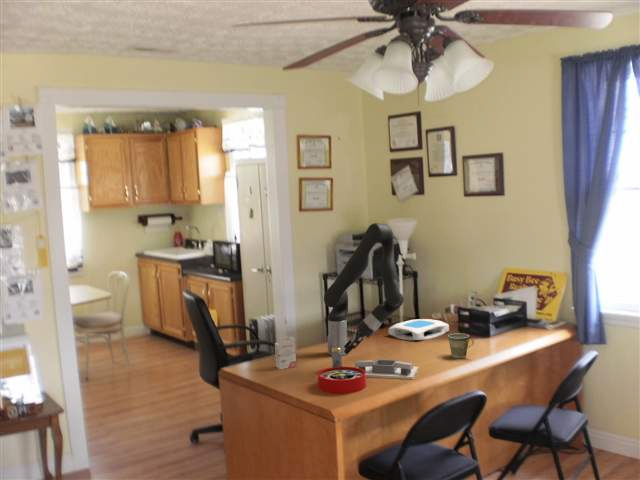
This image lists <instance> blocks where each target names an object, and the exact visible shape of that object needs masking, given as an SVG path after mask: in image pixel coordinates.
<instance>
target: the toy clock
mask: <svg viewBox="0 0 640 480" xmlns="http://www.w3.org/2000/svg"><path fill="white" fill-rule="evenodd" d="M317 386H318V387H317V388H318V390H320V391H322V392H323V393H327V394H335V395H336V394H338V395H345V394H346V395H348V394H354V393H358V392H361V391H363V390H365V389H366V387H367V377H366V373H365V371H364V370H362V369H360V368H357V367H355V366H354V367H353V366H342V367H332V366H331V367H328V368H324V369H321V370H320V371H319V372H318V373H317Z"/></svg>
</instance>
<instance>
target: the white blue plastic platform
mask: <svg viewBox="0 0 640 480" xmlns="http://www.w3.org/2000/svg"><path fill="white" fill-rule="evenodd" d="M387 330H388V335H390V336H392V337H393V338H395V339H398V340H405V341H425V340H426V341H427V340H429V339H434V338H437V337H440V336H442V335H444V334H446V333H447V332H449V331H450V325H449V324H448V323H446V322H444V321H441V320H437V319H430V318H419V319H417V318H416V319H410V320H406V321H402V322H397V323H395V324H393V325H391V326H390V327H389V328H388V329H387ZM425 332H427V333H430V334H426V335H425ZM408 334H411V335H408Z"/></svg>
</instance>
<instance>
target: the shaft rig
mask: <svg viewBox="0 0 640 480" xmlns="http://www.w3.org/2000/svg"><path fill="white" fill-rule="evenodd" d="M354 367H355V368H360V369H362V370H364V371H365V373H366V378H382V379H397V380H398V379H400V380H414V378H415V376H416V374H417V372H418V371H419V366H414V364H413V363H411V362H404V361H399V360H396V359H380V358H379V359H377V358H376V360H375V361H374V360H372V359H370V360H355V361H354Z"/></svg>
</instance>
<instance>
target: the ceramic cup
mask: <svg viewBox="0 0 640 480" xmlns="http://www.w3.org/2000/svg"><path fill="white" fill-rule="evenodd" d="M447 338H448V344H449V350H450V353H451V357H452V358H456V359H463V358H466V357H467V353H468V349H469V348H470V347H471V346H473V344H474V340H473V339H472V338H470V335H469V334H466V333H450V334H448V336H447ZM469 341H471V344H470V345H469Z"/></svg>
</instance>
